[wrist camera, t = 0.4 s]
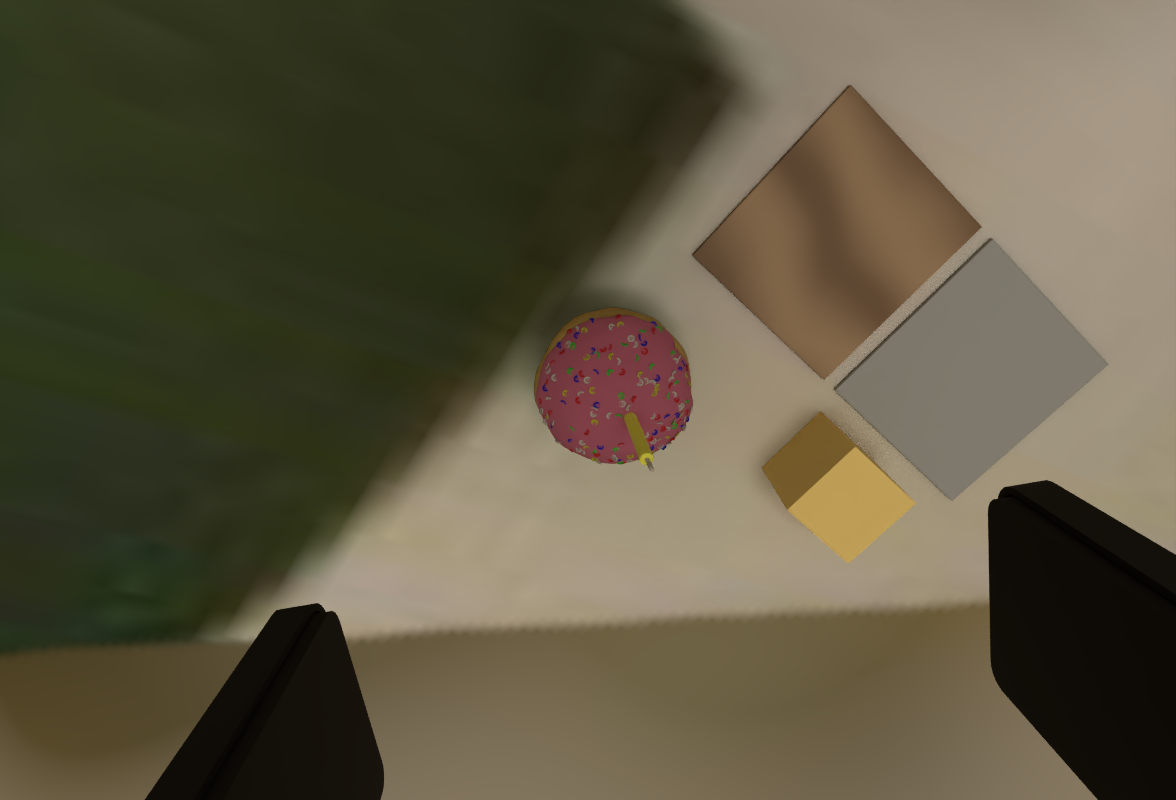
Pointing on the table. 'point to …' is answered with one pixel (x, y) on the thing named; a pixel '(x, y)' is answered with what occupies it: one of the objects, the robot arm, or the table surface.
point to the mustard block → (835, 488)
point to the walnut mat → (837, 235)
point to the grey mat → (971, 371)
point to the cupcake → (614, 386)
